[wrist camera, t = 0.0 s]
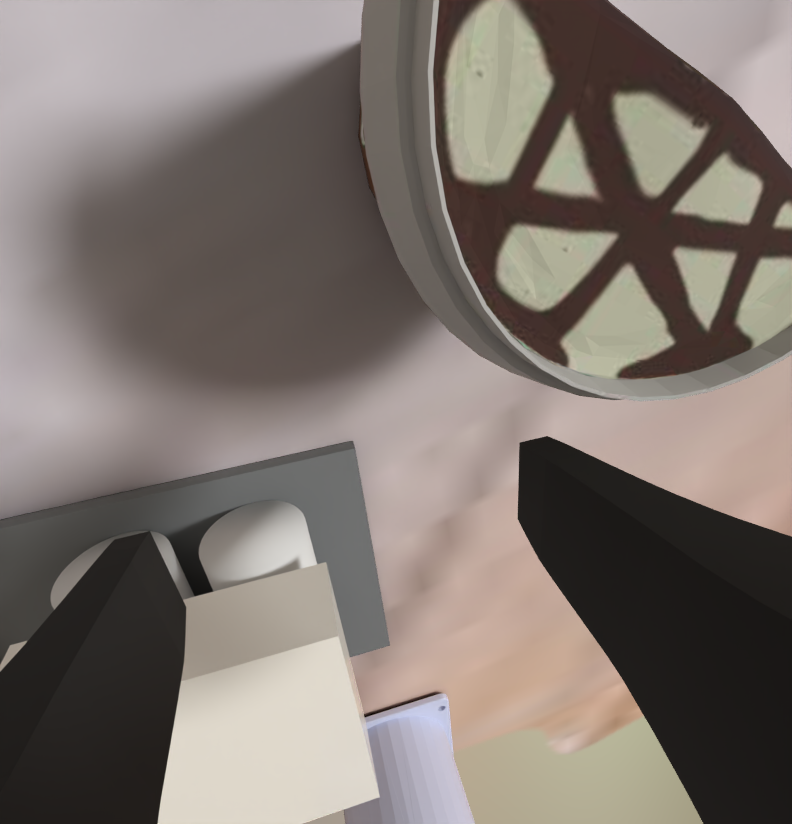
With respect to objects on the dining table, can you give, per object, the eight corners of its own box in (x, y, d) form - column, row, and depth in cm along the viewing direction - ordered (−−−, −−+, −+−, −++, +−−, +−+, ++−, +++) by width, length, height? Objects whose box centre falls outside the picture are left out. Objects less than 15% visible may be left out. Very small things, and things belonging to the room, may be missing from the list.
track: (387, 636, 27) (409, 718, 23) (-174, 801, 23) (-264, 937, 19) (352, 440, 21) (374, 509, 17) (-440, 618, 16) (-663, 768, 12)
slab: (365, 720, 22) (380, 796, 19) (130, 796, 20) (111, 890, 18) (326, 562, 17) (338, 635, 14) (10, 645, 15) (-41, 745, 13)
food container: (253, 214, 16) (248, 290, 7) (327, 2, 14) (443, -244, 5) (538, 346, 21) (736, 483, 12) (623, 204, 19) (932, 250, 10)
